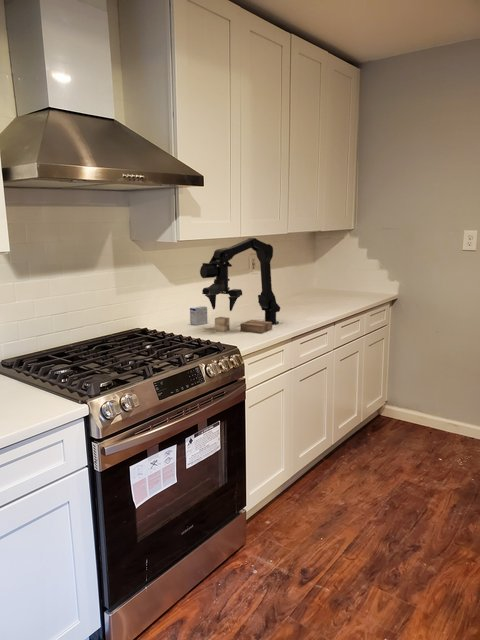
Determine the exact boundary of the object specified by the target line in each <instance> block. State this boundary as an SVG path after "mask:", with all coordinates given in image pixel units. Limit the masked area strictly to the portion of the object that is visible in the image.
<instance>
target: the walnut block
mask: <svg viewBox="0 0 480 640" xmlns="http://www.w3.org/2000/svg"><path fill="white" fill-rule="evenodd" d="M239 327H240V332H241V333H242V332H244V333H251V334H257V335H258V334H260V335H262V334H265V333H267V332H269V331H271V330H273V324H272V322H267V321H265V320H259V319H258V320H257V319H251V320H247V321H244V322H241V323H240V325H239Z"/></svg>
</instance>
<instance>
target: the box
mask: <svg viewBox="0 0 480 640" xmlns="http://www.w3.org/2000/svg"><path fill="white" fill-rule="evenodd" d="M189 323H190V325H191V326H196V327H197V326H201V325H205V324H208V323H209V321H208V307H207V306H205V305H204V306H203V305H202V306H201V305H200V306H196V307H194V306H193V307H190V308H189Z"/></svg>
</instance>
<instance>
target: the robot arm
mask: <svg viewBox="0 0 480 640" xmlns="http://www.w3.org/2000/svg"><path fill="white" fill-rule="evenodd" d="M249 249H252V250H253V251H254V252H255V253H256V258H257V259H258V261H259V265H260V268H259V269H260V278H261V279H260V282H261V292H260V294H258V295H257V298H258V302H257V303H258V305H259V306H260V308H261V310H262V311H264V321H267V322H272V325H275V324H278V323H279V322H280V321H279V320H278V321H277V313H279V312H280V311H281V307H280V305H279V304H278V303H277V300H276V295H275V293H274V292H273V288H272V286H273V285H272V271H271V269H272V267H271V261H272V259H273V256H274V247H273V246H272V245H271V244H270V243H266V242H264V241H261V240H259V239H258V238H256V237H249V238H246V239H245V240H243V241H241V242H238V243H236V244H234V245H231V246H229V247H223V248H217V249H215V250H214V252H213V255H212V257H211V259H210V260H209V262H202V265H201V266H200V270H199V275H200V277H201V278H202V279H211V278H214V280H213V283H212V284H211V285H210V286H207V287H204V288H203V289H202V291H201V293H202V295H204V297H207V298H208V300H209V302H210V305H211V307H212V310H216V300H217V295H219V294H220V295H221V294H222V295H228V299H229V311H230V312H233V311H232V310H233V308H234V307H235V304H236V302H237V300H238V298H240V297H241V296H243V291H242V289H238V288H232V289H230V286H229V282H230V278H229V268H230V267H233V265H232V264H231V263H230V262H229V261H231V260H232V259H233V258H234V256H236V255H238V254H240V253H242V252H245V251H247V250H249Z"/></svg>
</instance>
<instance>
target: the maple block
mask: <svg viewBox="0 0 480 640" xmlns="http://www.w3.org/2000/svg"><path fill="white" fill-rule="evenodd" d="M214 331H215V332H222V333H225V332H228V331H230V317H225V316H218V317H215V318H214Z"/></svg>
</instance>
